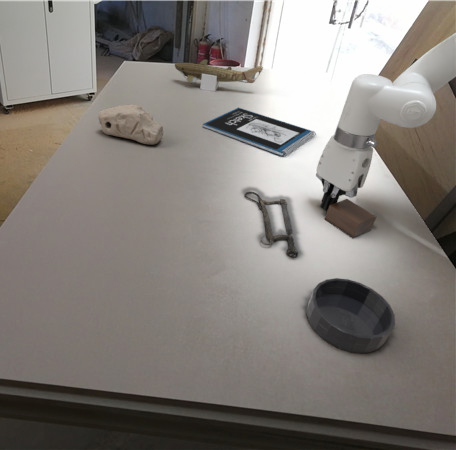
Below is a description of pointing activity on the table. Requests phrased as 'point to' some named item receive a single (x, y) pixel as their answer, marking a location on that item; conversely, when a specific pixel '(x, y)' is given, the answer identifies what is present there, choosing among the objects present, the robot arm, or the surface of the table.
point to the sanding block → (350, 218)
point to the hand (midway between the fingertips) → (326, 207)
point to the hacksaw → (292, 248)
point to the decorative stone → (130, 124)
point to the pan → (350, 315)
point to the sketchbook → (260, 131)
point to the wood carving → (214, 74)
